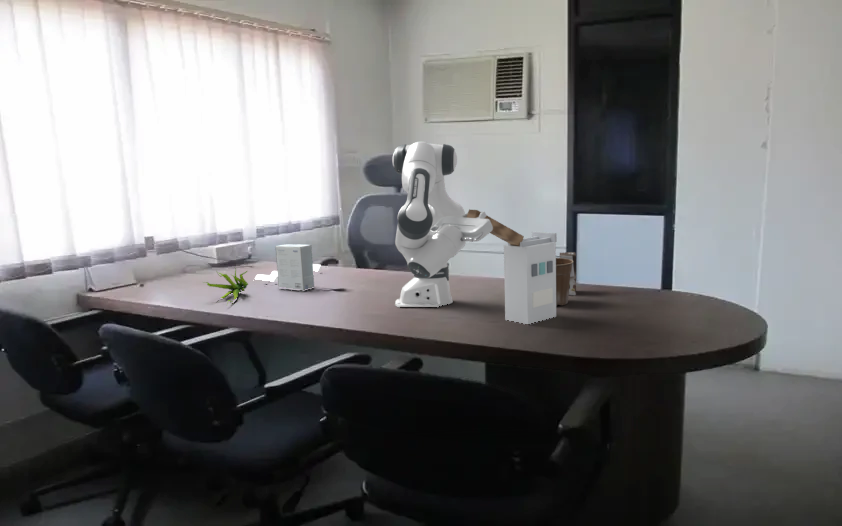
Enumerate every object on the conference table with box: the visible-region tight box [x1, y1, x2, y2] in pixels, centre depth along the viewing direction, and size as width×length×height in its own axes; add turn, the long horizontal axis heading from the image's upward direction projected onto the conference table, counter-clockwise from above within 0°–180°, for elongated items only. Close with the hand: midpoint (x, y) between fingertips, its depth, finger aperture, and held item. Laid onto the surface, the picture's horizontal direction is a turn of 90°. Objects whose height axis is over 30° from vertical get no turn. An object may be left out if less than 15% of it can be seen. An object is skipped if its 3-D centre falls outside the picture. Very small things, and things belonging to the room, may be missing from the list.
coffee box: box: [559, 251, 577, 296], centre depth 267 cm, size 9×6×16 cm
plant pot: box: [556, 257, 573, 307], centre depth 251 cm, size 16×16×16 cm
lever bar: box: [466, 209, 524, 246], centre depth 214 cm, size 24×4×4 cm, turn 131°
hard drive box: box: [274, 243, 315, 290], centre depth 298 cm, size 16×8×20 cm, turn 58°
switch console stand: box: [503, 231, 558, 325], centre depth 227 cm, size 16×10×29 cm
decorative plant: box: [202, 267, 249, 305], centre depth 278 cm, size 18×30×15 cm, turn 158°
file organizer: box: [254, 263, 322, 282], centre depth 328 cm, size 13×35×5 cm, turn 147°
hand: (478, 213), depth 208 cm, fingers closed on lever bar, 3 cm apart
